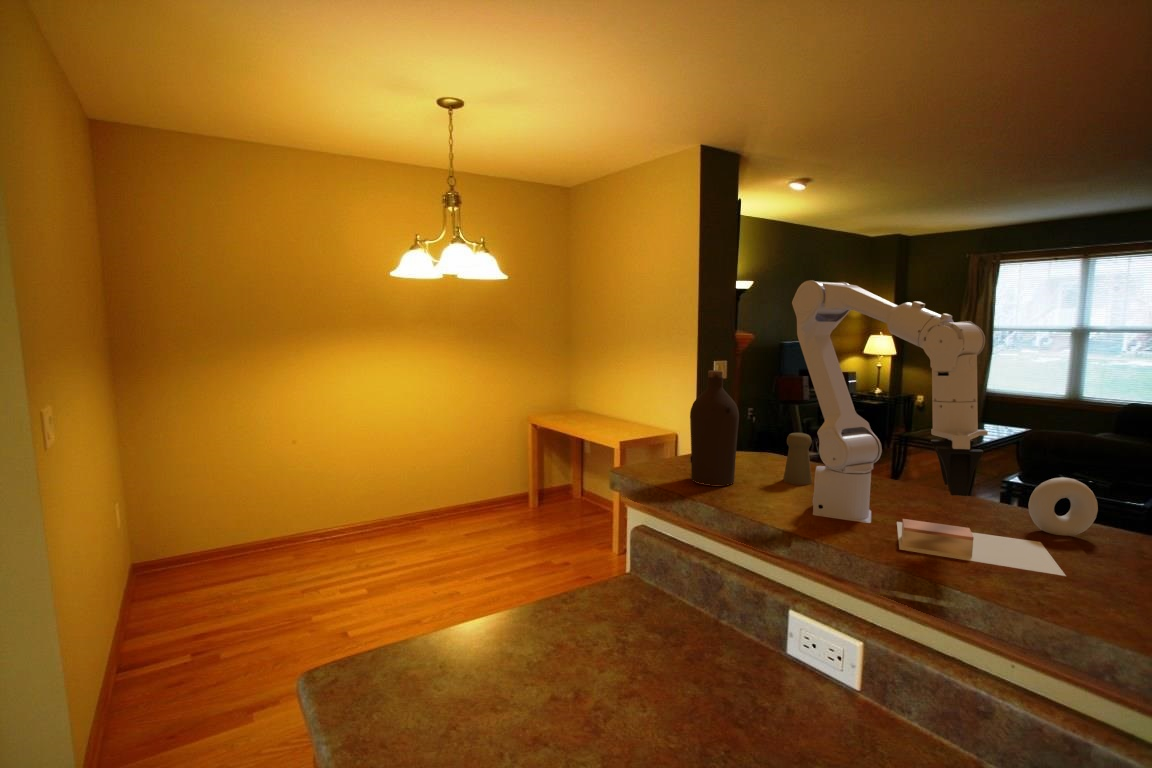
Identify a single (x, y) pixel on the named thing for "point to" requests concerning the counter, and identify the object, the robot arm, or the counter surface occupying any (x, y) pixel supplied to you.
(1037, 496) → the donut
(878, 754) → the counter surface
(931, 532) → the pink and beige box
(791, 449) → the cork
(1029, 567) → the mat
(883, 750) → the counter surface
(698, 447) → the olive oil
